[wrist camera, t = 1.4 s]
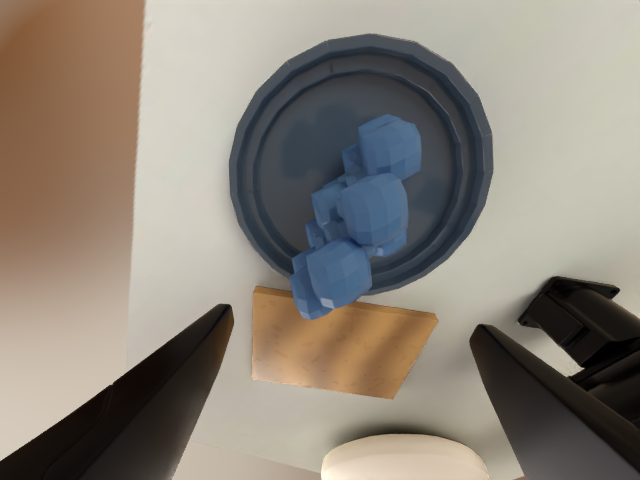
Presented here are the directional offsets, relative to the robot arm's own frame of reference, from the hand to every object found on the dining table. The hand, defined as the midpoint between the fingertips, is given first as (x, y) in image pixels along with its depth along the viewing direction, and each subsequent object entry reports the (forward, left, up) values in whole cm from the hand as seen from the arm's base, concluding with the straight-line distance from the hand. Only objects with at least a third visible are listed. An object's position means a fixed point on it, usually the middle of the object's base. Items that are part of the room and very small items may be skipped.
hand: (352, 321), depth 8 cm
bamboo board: (-3, +19, -13) cm, 23 cm away
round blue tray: (-1, -1, -13) cm, 13 cm away
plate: (-20, +46, -13) cm, 52 cm away
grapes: (-1, -1, -13) cm, 13 cm away
